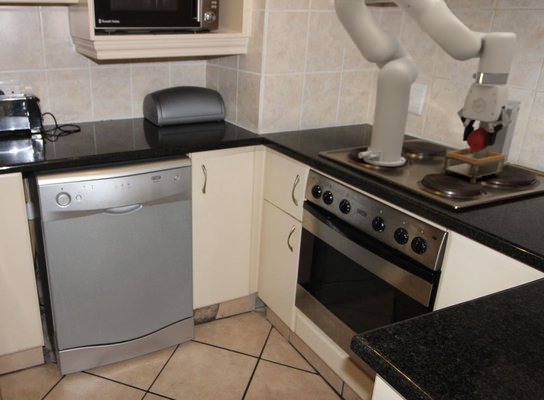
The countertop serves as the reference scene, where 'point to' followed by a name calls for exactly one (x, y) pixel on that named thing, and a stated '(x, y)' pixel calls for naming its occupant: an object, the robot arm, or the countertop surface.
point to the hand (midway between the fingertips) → (477, 142)
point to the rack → (473, 163)
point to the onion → (477, 139)
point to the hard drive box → (502, 134)
